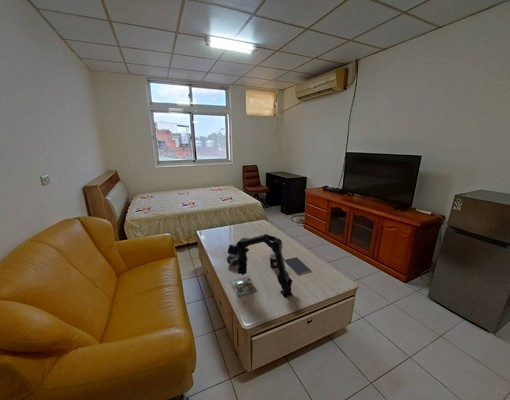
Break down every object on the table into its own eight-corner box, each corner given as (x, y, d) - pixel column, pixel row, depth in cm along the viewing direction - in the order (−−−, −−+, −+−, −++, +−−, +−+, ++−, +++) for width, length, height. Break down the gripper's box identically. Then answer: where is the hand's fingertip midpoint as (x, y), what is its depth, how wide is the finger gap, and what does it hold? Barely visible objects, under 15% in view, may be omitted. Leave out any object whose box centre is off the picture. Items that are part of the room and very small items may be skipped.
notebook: (311, 272, 172) (296, 258, 191) (311, 270, 172) (296, 257, 191) (297, 275, 168) (283, 261, 187) (297, 274, 167) (284, 259, 186)
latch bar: (250, 281, 158) (250, 277, 157) (252, 284, 155) (252, 280, 154) (237, 284, 155) (237, 280, 154) (238, 287, 152) (238, 283, 151)
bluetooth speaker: (237, 266, 178) (236, 256, 175) (226, 265, 180) (225, 255, 177) (243, 252, 199) (243, 243, 197) (234, 251, 201) (233, 242, 198)
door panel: (256, 291, 150) (256, 286, 149) (237, 296, 145) (237, 292, 144) (248, 277, 164) (248, 273, 163) (230, 282, 159) (230, 278, 158)
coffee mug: (267, 268, 176) (267, 257, 173) (271, 262, 184) (271, 252, 181) (281, 271, 172) (281, 260, 169) (284, 266, 179) (284, 255, 176)
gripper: (232, 249, 162) (233, 267, 167) (229, 263, 144) (230, 283, 149) (247, 249, 162) (247, 267, 167) (246, 263, 144) (246, 283, 149)
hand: (243, 274), depth 158 cm, fingers closed
